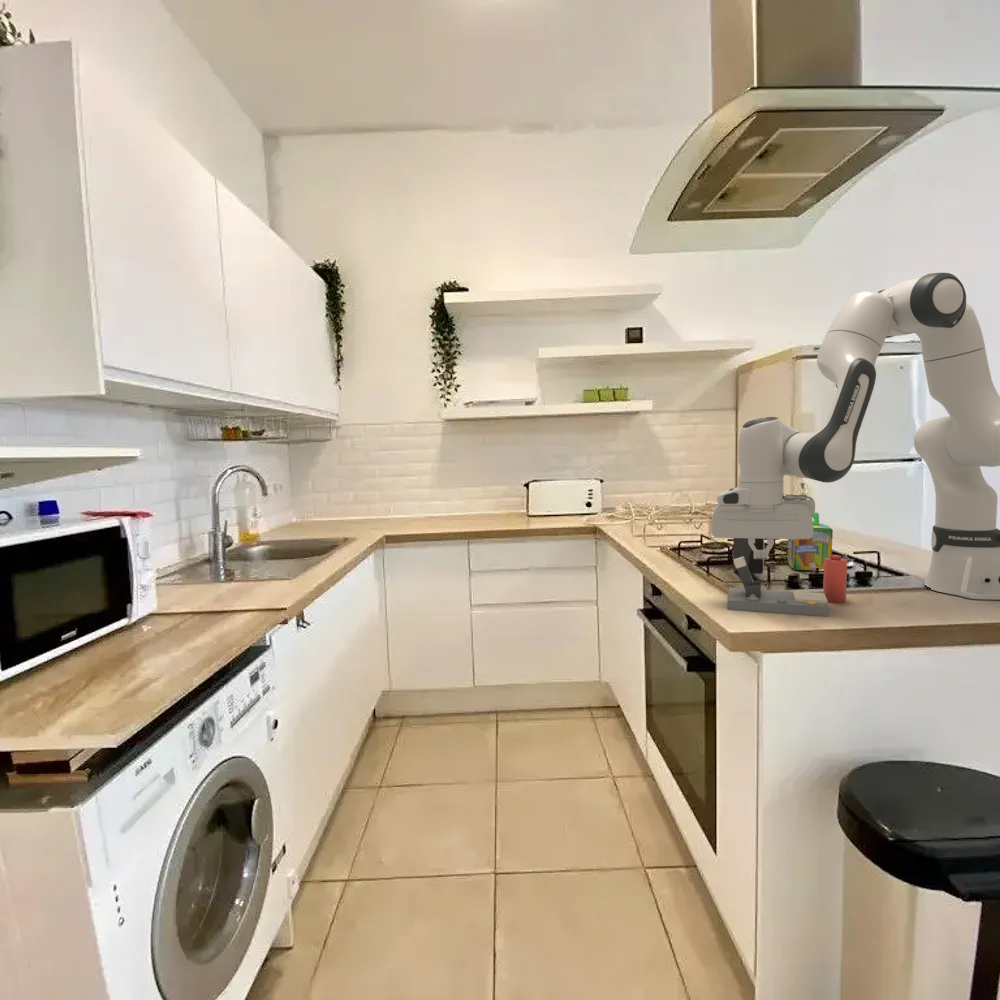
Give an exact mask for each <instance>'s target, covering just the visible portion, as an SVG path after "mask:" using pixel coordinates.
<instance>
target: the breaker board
mask: <svg viewBox="0 0 1000 1000" xmlns="http://www.w3.org/2000/svg"><path fill="white" fill-rule="evenodd" d="M753 581H754V583H755V585H746V590H745V588H740V587H739V588H737V587H729V588H728V593H727V600H726V601H727V603H726V605H727V607H726V608H727V610H728V611H729V610H730V611H743V612H759V613H760V612H761V613H774V614H785V615H787V614H788V615H802V616H812V617H813V616H817V617H830V615H829V612H830V607H829V604H828V603H829V602H828V601H827V598H826V596H825V594H824V593H823V592H807V591H792V590H791V591H789V590H775V589H774V590H773V589H772V590H771V589H762V586H761V585H762V584H761V583H762V582H761V580H754V579H753Z"/></svg>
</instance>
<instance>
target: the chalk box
mask: <svg viewBox="0 0 1000 1000" xmlns="http://www.w3.org/2000/svg"><path fill="white" fill-rule="evenodd" d="M812 519H813V520H812V521H813V531H814V535H813V536H812V537H811V538H810V539H787V564H788V563H789V565H788V566H789V567H790V568H793V571H795V570H815V569H816V568H819V569H824V558H830V555H833V539H834V537H833V534H834V533H833V532H834V531H833V530H834V529H833V528H831V527H830V526H828V525H826V524H824V523H820V515H819V513H818V512H814V514H813V515H812Z"/></svg>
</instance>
